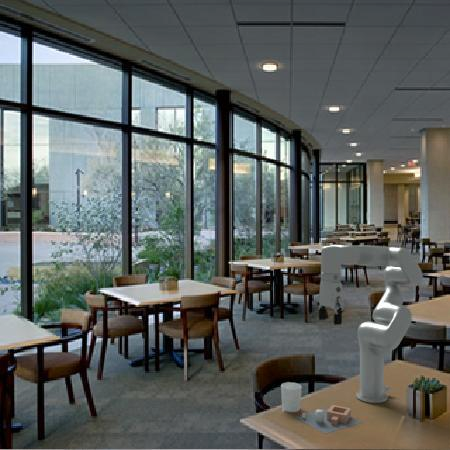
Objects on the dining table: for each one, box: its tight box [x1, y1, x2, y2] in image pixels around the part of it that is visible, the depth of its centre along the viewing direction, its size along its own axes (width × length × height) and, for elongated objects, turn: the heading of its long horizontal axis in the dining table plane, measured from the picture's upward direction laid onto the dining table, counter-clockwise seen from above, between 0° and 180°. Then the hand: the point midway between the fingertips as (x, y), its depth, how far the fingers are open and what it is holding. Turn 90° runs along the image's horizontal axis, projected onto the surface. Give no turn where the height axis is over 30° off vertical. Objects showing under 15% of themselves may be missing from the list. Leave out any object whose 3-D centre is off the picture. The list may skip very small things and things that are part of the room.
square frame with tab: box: [327, 404, 352, 426], centre depth 173 cm, size 10×7×3 cm
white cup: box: [280, 382, 303, 413], centre depth 184 cm, size 8×8×10 cm
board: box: [294, 407, 363, 435], centre depth 173 cm, size 18×16×5 cm
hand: (329, 321), depth 184 cm, fingers open, 9 cm apart
